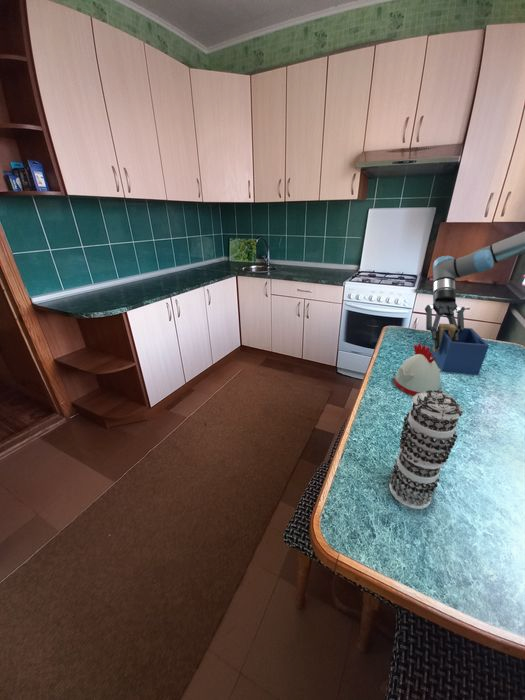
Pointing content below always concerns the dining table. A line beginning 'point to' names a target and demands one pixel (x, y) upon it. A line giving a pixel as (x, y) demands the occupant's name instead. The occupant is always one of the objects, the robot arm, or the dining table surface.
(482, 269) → the robot arm
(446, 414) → the decorative candle
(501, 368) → the dining table surface
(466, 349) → the blue bin
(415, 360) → the kitchen timer
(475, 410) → the dining table surface
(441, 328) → the wood clip
